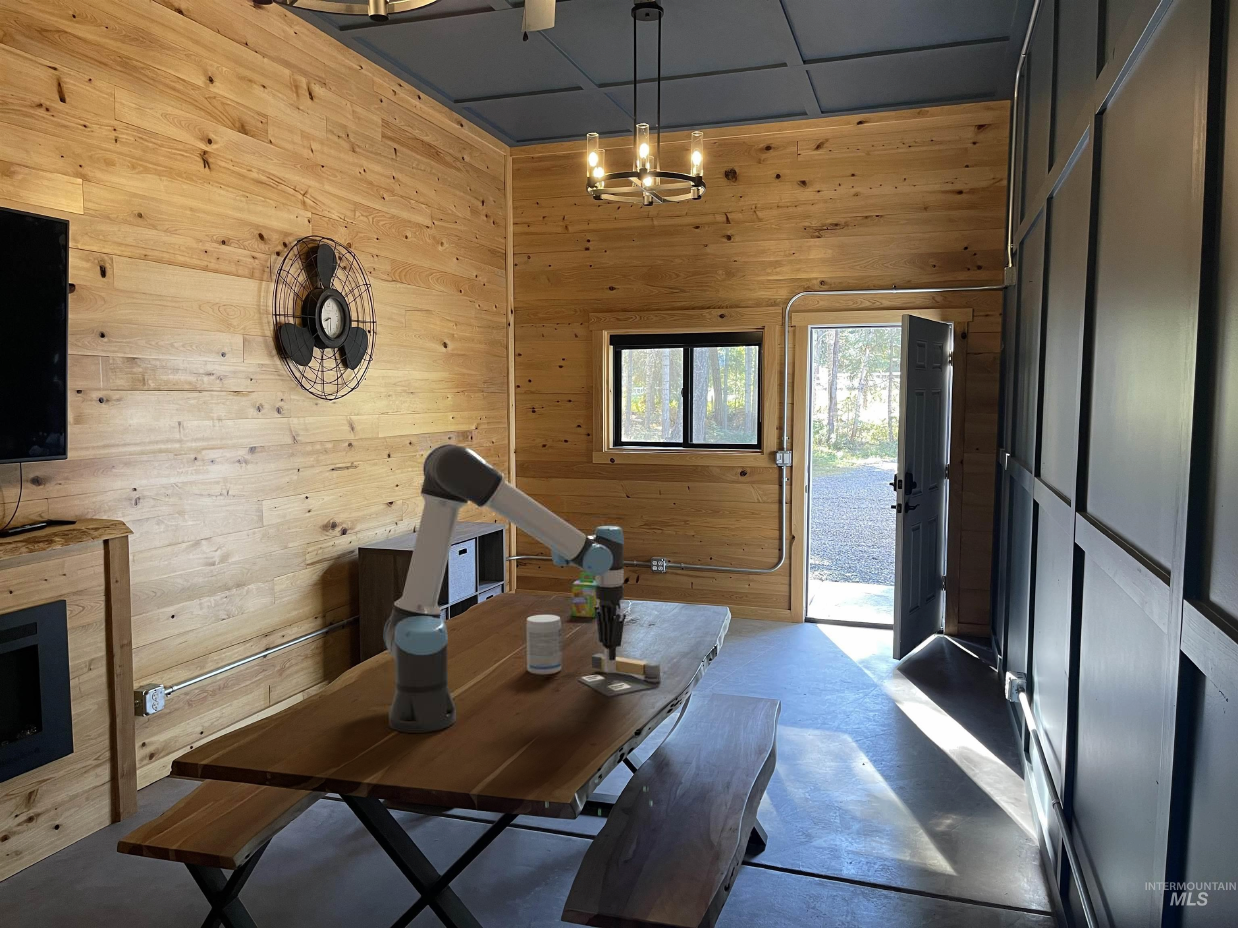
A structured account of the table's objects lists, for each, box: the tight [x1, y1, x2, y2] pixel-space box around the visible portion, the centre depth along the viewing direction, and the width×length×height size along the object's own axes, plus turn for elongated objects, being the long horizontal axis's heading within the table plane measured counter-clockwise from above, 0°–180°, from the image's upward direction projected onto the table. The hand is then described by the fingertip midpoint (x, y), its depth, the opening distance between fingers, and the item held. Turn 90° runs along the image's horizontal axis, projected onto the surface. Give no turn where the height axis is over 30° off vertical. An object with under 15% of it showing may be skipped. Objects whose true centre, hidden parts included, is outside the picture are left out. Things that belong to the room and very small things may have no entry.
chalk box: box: [571, 571, 600, 619], centre depth 308 cm, size 9×9×15 cm
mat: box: [577, 671, 656, 698], centre depth 229 cm, size 14×16×1 cm
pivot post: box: [643, 675, 662, 685], centre depth 231 cm, size 4×4×1 cm
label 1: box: [580, 674, 605, 682], centre depth 232 cm, size 5×4×1 cm
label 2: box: [607, 683, 632, 691], centre depth 225 cm, size 5×4×1 cm
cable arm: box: [591, 652, 661, 678], centre depth 235 cm, size 20×4×3 cm, turn 60°
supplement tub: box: [525, 614, 563, 676], centre depth 241 cm, size 10×10×15 cm
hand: (610, 670), depth 234 cm, fingers closed
